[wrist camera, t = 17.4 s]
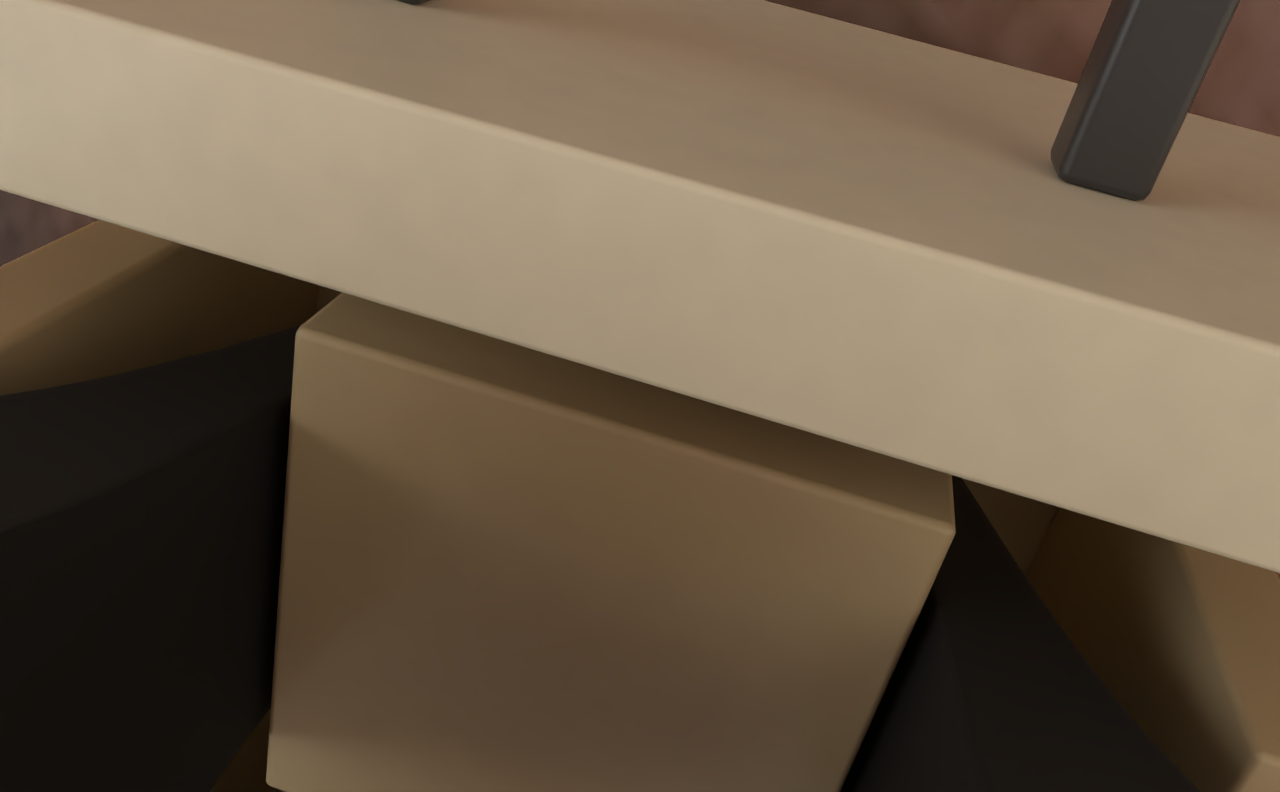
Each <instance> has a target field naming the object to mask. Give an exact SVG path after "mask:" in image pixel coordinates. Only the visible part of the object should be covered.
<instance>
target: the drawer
mask: <svg viewBox="0 0 1280 792" xmlns="http://www.w3.org/2000/svg"><path fill="white" fill-rule="evenodd" d="M1239 2H1240V0H1112V2H1111V5H1110V7H1109V10H1108V12H1107V14H1106V17H1105V19H1104V22H1103V24H1102V27H1101V29H1100V32H1099V34H1098V36H1097V39H1096V41H1095V44H1094V46H1093V49H1092V51H1091V53H1090V56H1089V58H1088V61H1087V63H1086V66H1085V68H1084V70H1083V73H1082V75H1081V78H1080V80H1079V83H1074V82H1070V81H1066V80H1063V79H1059V78H1055V77H1051V76H1048V75H1044V74H1040V73H1036V72H1032V71H1029V70H1025V69H1021V68H1017V67H1014V66H1010V65H1006V64H1002V63H999V62H995V61H991V60H987V59H983V58H980V57H976V56H972V55H968V54H965V53H961V52H957V51H953V50H949V49H946V48H942V47H938V46H934V45H931V44H927V43H923V42H919V41H916V40H912V39H908V38H904V37H900V36H897V35H893V34H889V33H885V32H882V31H878V30H874V29H870V28H866V27H863V26H859V25H855V24H851V23H848V22H844V21H840V20H836V19H833V18H829V17H825V16H821V15H817V14H814V13H810V12H806V11H802V10H799V9H795V8H791V7H787V6H783V5H780V4H776V3H772V2H768V1H765V0H0V190H2V191H6V192H9V193H12V194H16V195H19V196H22V197H26V198H29V199H32V200H36V201H39V202H42V203H46V204H49V205H52V206H56V207H59V208H62V209H66V210H69V211H72V212H76V213H79V214H82V215H86V216H89V217H92V218H96V219H99V220H97V221H95V222H93V223H91V224H89V225H87V226H85V227H82V228H80V229H78V230H76V231H74V232H72V233H70V234H68V235H66V236H63V237H61V238H59V239H57V240H55V241H53V242H51V243H49V244H47V245H44V246H42V247H40V248H38V249H36V250H34V251H32V252H30V253H28V254H25V255H23V256H21V257H19V258H17V259H15V260H13V261H11V262H9V263H6V264H4V265H2V266H0V396H2V395H8V394H15V393H21V392H27V391H33V390H39V389H46V388H52V387H57V386H62V385H67V384H73V383H78V382H83V381H88V380H93V379H98V378H102V377H107V376H112V375H116V374H120V373H124V372H128V371H132V370H136V369H140V368H144V367H148V366H152V365H156V364H160V363H164V362H168V361H172V360H176V359H180V358H184V357H188V356H192V355H196V354H200V353H204V352H208V351H212V350H216V349H219V348H223V347H226V346H230V345H233V344H236V343H240V342H243V341H247V340H250V339H253V338H257V337H260V336H264V335H267V334H270V333H274V332H277V331H281V330H284V329H287V328H291V327H294V326H297V325H301V324H304V323H305V322H306V321H307V320H309V319H310V318H311V317H312V316H314V315H315V314H316V313H317V312H319V311H320V310H321V309H322V308H324V307H325V306H326V305H327V304H329V303H330V302H331V301H332V300H334V299H335V298H336V297H337V296H338V295H340V294H341V293H342V292H343V293H346V294H349V295H353V296H356V297H359V298H363V299H366V300H369V301H373V302H376V303H379V304H383V305H386V306H389V307H393V308H396V309H399V310H403V311H406V312H409V313H413V314H416V315H419V316H423V317H426V318H429V319H433V320H436V321H439V322H443V323H446V324H449V325H453V326H456V327H459V328H463V329H466V330H469V331H473V332H476V333H480V334H483V335H486V336H490V337H493V338H496V339H500V340H503V341H506V342H510V343H513V344H516V345H520V346H523V347H526V348H530V349H533V350H536V351H540V352H543V353H546V354H550V355H553V356H556V357H560V358H563V359H566V360H570V361H573V362H576V363H580V364H583V365H586V366H590V367H593V368H596V369H600V370H603V371H606V372H610V373H613V374H616V375H620V376H623V377H626V378H630V379H633V380H636V381H640V382H643V383H646V384H650V385H653V386H656V387H660V388H663V389H666V390H670V391H673V392H676V393H680V394H683V395H686V396H690V397H693V398H696V399H700V400H703V401H706V402H710V403H713V404H716V405H720V406H723V407H726V408H730V409H733V410H737V411H740V412H743V413H747V414H750V415H753V416H757V417H760V418H763V419H767V420H770V421H773V422H777V423H780V424H783V425H787V426H790V427H793V428H797V429H800V430H803V431H807V432H810V433H813V434H817V435H820V436H823V437H827V438H830V439H833V440H837V441H840V442H843V443H847V444H850V445H853V446H857V447H860V448H863V449H867V450H870V451H873V452H877V453H880V454H883V455H887V456H890V457H893V458H897V459H900V460H903V461H907V462H910V463H913V464H917V465H920V466H923V467H927V468H930V469H933V470H937V471H940V472H943V473H947V474H950V475H953V476H957V477H960V478H962V480H963V481H964V483H965V484H966V485H967V487H968V488H969V490H970V491H971V493H972V495H973V496H974V498H975V499H976V501H977V502H978V504H979V505H980V507H981V509H982V510H983V512H984V513H985V515H986V516H987V518H988V519H989V521H990V523H991V524H992V526H993V527H994V529H995V530H996V532H997V534H998V535H999V537H1000V538H1001V540H1002V541H1003V543H1004V544H1005V546H1006V548H1007V549H1008V551H1009V552H1010V554H1011V555H1012V557H1013V558H1014V560H1015V561H1016V563H1017V564H1018V566H1019V567H1020V569H1021V570H1022V572H1023V573H1024V575H1025V576H1026V578H1027V579H1028V581H1029V582H1030V584H1031V585H1032V587H1033V588H1034V590H1035V591H1036V593H1037V594H1038V596H1039V597H1040V598H1041V600H1042V601H1043V603H1044V604H1045V606H1046V607H1047V608H1048V610H1049V611H1050V613H1051V614H1052V615H1053V617H1054V618H1055V620H1056V621H1057V622H1058V624H1059V625H1060V626H1061V628H1062V629H1063V631H1064V632H1065V633H1066V635H1067V636H1068V637H1069V639H1070V640H1071V641H1072V643H1073V644H1074V646H1075V647H1076V648H1077V649H1078V651H1079V652H1080V653H1081V655H1082V656H1083V657H1084V658H1085V660H1086V661H1087V662H1088V663H1089V665H1090V666H1091V667H1092V669H1093V670H1094V671H1095V672H1096V674H1097V675H1098V676H1099V677H1100V679H1101V680H1102V681H1103V682H1104V684H1105V685H1106V686H1107V688H1108V689H1109V690H1110V691H1111V693H1112V694H1113V695H1114V696H1115V698H1116V699H1117V700H1118V701H1119V703H1120V704H1121V705H1122V706H1123V707H1124V709H1125V710H1126V711H1127V712H1128V713H1129V714H1130V716H1131V717H1132V718H1133V719H1134V720H1135V721H1136V723H1137V724H1138V725H1139V726H1140V727H1141V728H1142V730H1143V731H1144V732H1145V733H1146V734H1147V735H1148V736H1149V737H1150V738H1151V739H1152V741H1153V742H1154V743H1155V744H1156V745H1157V746H1158V747H1159V748H1160V749H1161V750H1162V751H1163V752H1164V754H1165V755H1166V756H1167V757H1168V758H1169V759H1170V760H1171V761H1172V762H1173V763H1174V764H1175V765H1176V766H1177V768H1178V769H1179V770H1180V771H1181V772H1182V773H1183V774H1184V775H1185V776H1186V777H1187V778H1188V779H1189V781H1190V782H1191V783H1192V784H1193V785H1194V786H1195V787H1196V788H1197V789H1198V790H1199V791H1200V792H1280V579H1279V577H1278V575H1277V573H1280V137H1278V136H1274V135H1270V134H1266V133H1263V132H1259V131H1255V130H1251V129H1247V128H1244V127H1240V126H1236V125H1232V124H1229V123H1225V122H1221V121H1217V120H1214V119H1210V118H1206V117H1202V116H1198V115H1195V114H1191V113H1188V111H1189V109H1190V107H1191V105H1192V103H1193V100H1194V98H1195V96H1196V94H1197V92H1198V90H1199V88H1200V85H1201V83H1202V81H1203V79H1204V77H1205V75H1206V73H1207V70H1208V68H1209V66H1210V64H1211V62H1212V60H1213V58H1214V55H1215V53H1216V51H1217V49H1218V47H1219V45H1220V43H1221V40H1222V38H1223V36H1224V34H1225V32H1226V30H1227V28H1228V25H1229V23H1230V21H1231V19H1232V17H1233V15H1234V12H1235V10H1236V8H1237V6H1238V4H1239ZM1276 572H1277V573H1276ZM270 713H271V708H270V710H269V711H268V712H267V713H266V715H265V716H264V717H263V719H262V720H261V721H260V722H259V724H258V725H257V726H256V728H255V729H254V730H253V731H252V733H251V734H250V735H249V737H248V738H247V739H246V741H245V742H244V743H243V745H242V746H241V748H240V749H239V750H238V752H237V753H236V755H235V756H234V758H233V759H232V760H231V762H230V763H229V765H228V766H227V767H226V769H225V770H224V772H223V773H222V774H221V776H220V777H219V779H218V780H217V782H216V783H215V785H214V787H213V788H212V790H211V791H210V792H285V791H282V790H279V789H276V788H273V787H271V786H269V785H268V784H267V782H266V773H267V758H268V743H269V728H270Z"/></svg>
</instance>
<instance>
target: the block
mask: <svg viewBox="0 0 1280 792" xmlns="http://www.w3.org/2000/svg"><path fill="white" fill-rule="evenodd" d="M955 534H956V530H955V515H954V500H953V485H952V475H950V474H947V473H943V472H940V471H937V470H933V469H930V468H927V467H923V466H920V465H917V464H913V463H910V462H907V461H903V460H900V459H897V458H893V457H890V456H887V455H883V454H880V453H877V452H873V451H870V450H867V449H863V448H860V447H857V446H853V445H850V444H847V443H843V442H840V441H837V440H833V439H830V438H827V437H823V436H820V435H817V434H813V433H810V432H807V431H803V430H800V429H797V428H793V427H790V426H787V425H783V424H780V423H777V422H773V421H770V420H767V419H763V418H760V417H757V416H753V415H750V414H747V413H743V412H740V411H737V410H733V409H730V408H726V407H723V406H720V405H716V404H713V403H710V402H706V401H703V400H700V399H696V398H693V397H690V396H686V395H683V394H680V393H676V392H673V391H670V390H666V389H663V388H660V387H656V386H653V385H650V384H646V383H643V382H640V381H636V380H633V379H630V378H626V377H623V376H620V375H616V374H613V373H610V372H606V371H603V370H600V369H596V368H593V367H590V366H586V365H583V364H580V363H576V362H573V361H570V360H566V359H563V358H560V357H556V356H553V355H550V354H546V353H543V352H540V351H536V350H533V349H530V348H526V347H523V346H520V345H516V344H513V343H510V342H506V341H503V340H500V339H496V338H493V337H490V336H486V335H483V334H480V333H476V332H473V331H469V330H466V329H463V328H459V327H456V326H453V325H449V324H446V323H443V322H439V321H436V320H433V319H429V318H426V317H423V316H419V315H416V314H413V313H409V312H406V311H403V310H399V309H396V308H393V307H389V306H386V305H383V304H379V303H376V302H373V301H369V300H366V299H363V298H359V297H356V296H353V295H349V294H346V293H343V292H342V293H341V294H340V295H338V296H337V297H336V298H335V299H334V300H332V301H331V302H330V303H329V304H327V305H326V306H325V307H324V308H322V309H321V310H320V311H319V312H317V313H316V314H315V315H314V316H312V317H311V318H310V319H309V320H307V321H306V322H305V323H304V324H302V325H301V326H300V327H299V329H298V330H297V332H296V336H295V351H294V367H293V382H292V397H291V412H290V427H289V442H288V457H287V472H286V487H285V502H284V517H283V532H282V547H281V562H280V577H279V593H278V608H277V623H276V638H275V653H274V668H273V683H272V698H271V713H270V728H269V743H268V758H267V773H266V782H267V784H268V785H269V786H271V787H273V788H276V789H279V790H282V791H285V792H841V790H842V787H843V785H844V783H845V781H846V778H847V776H848V774H849V772H850V769H851V767H852V765H853V763H854V760H855V758H856V756H857V754H858V751H859V749H860V747H861V745H862V742H863V740H864V738H865V736H866V733H867V731H868V729H869V727H870V725H871V722H872V720H873V718H874V716H875V713H876V711H877V709H878V707H879V704H880V702H881V700H882V698H883V695H884V693H885V691H886V689H887V686H888V684H889V682H890V680H891V677H892V675H893V673H894V671H895V668H896V666H897V664H898V662H899V659H900V657H901V655H902V653H903V650H904V648H905V646H906V644H907V641H908V639H909V637H910V635H911V633H912V630H913V628H914V626H915V624H916V621H917V619H918V617H919V615H920V612H921V610H922V608H923V606H924V603H925V601H926V599H927V597H928V594H929V592H930V590H931V588H932V585H933V583H934V581H935V579H936V576H937V574H938V572H939V570H940V567H941V565H942V563H943V561H944V558H945V556H946V554H947V552H948V549H949V547H950V545H951V543H952V541H953V538H954V536H955Z"/></svg>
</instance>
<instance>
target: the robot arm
mask: <svg viewBox="0 0 1280 792" xmlns="http://www.w3.org/2000/svg"><path fill="white" fill-rule="evenodd" d="M301 325H302V324H301ZM301 325H297V326H294V327H291V328H287V329H284V330H281V331H277V332H274V333H270V334H267V335H264V336H260V337H257V338H253V339H250V340H247V341H243V342H240V343H236V344H233V345H230V346H226V347H223V348H219V349H216V350H212V351H208V352H204V353H200V354H196V355H192V356H188V357H184V358H180V359H176V360H172V361H168V362H164V363H160V364H156V365H152V366H148V367H144V368H140V369H136V370H132V371H128V372H124V373H120V374H116V375H112V376H107V377H102V378H98V379H93V380H88V381H83V382H78V383H73V384H67V385H62V386H57V387H52V388H46V389H39V390H33V391H27V392H21V393H15V394H8V395H2V396H0V792H210V791H211V790H212V788H213V787H214V785H215V783H216V782H217V780H218V779H219V777H220V776H221V774H222V773H223V772H224V770H225V769H226V767H227V766H228V765H229V763H230V762H231V760H232V759H233V758H234V756H235V755H236V753H237V752H238V750H239V749H240V748H241V746H242V745H243V743H244V742H245V741H246V739H247V738H248V737H249V735H250V734H251V733H252V731H253V730H254V729H255V728H256V726H257V725H258V724H259V722H260V721H261V720H262V719H263V717H264V716H265V715H266V713H267V712H268V711H269V710H270V708H271V698H272V683H273V668H274V653H275V638H276V623H277V608H278V593H279V577H280V562H281V547H282V532H283V517H284V502H285V487H286V472H287V457H288V442H289V427H290V412H291V397H292V382H293V367H294V351H295V336H296V332H297V330H298V329H299V327H300V326H301ZM952 485H953V500H954V515H955V530H956V534H955V536H954V538H953V541H952V543H951V545H950V547H949V549H948V552H947V554H946V556H945V558H944V561H943V563H942V565H941V567H940V570H939V572H938V574H937V576H936V579H935V581H934V583H933V585H932V588H931V590H930V592H929V594H928V597H927V599H926V601H925V603H924V606H923V608H922V610H921V612H920V615H919V617H918V619H917V621H916V624H915V626H914V628H913V630H912V633H911V635H910V637H909V639H908V641H907V644H906V646H905V648H904V650H903V653H902V655H901V657H900V659H899V662H898V664H897V666H896V668H895V671H894V673H893V675H892V677H891V680H890V682H889V684H888V686H887V689H886V691H885V693H884V695H883V698H882V700H881V702H880V704H879V707H878V709H877V711H876V713H875V716H874V718H873V720H872V722H871V725H870V727H869V729H868V731H867V733H866V736H865V738H864V740H863V742H862V745H861V747H860V749H859V751H858V754H857V756H856V758H855V760H854V763H853V765H852V767H851V769H850V772H849V774H848V776H847V778H846V781H845V783H844V785H843V787H842V790H841V792H1200V791H1199V790H1198V789H1197V788H1196V787H1195V786H1194V785H1193V784H1192V783H1191V782H1190V781H1189V779H1188V778H1187V777H1186V776H1185V775H1184V774H1183V773H1182V772H1181V771H1180V770H1179V769H1178V768H1177V766H1176V765H1175V764H1174V763H1173V762H1172V761H1171V760H1170V759H1169V758H1168V757H1167V756H1166V755H1165V754H1164V752H1163V751H1162V750H1161V749H1160V748H1159V747H1158V746H1157V745H1156V744H1155V743H1154V742H1153V741H1152V739H1151V738H1150V737H1149V736H1148V735H1147V734H1146V733H1145V732H1144V731H1143V730H1142V728H1141V727H1140V726H1139V725H1138V724H1137V723H1136V721H1135V720H1134V719H1133V718H1132V717H1131V716H1130V714H1129V713H1128V712H1127V711H1126V710H1125V709H1124V707H1123V706H1122V705H1121V704H1120V703H1119V701H1118V700H1117V699H1116V698H1115V696H1114V695H1113V694H1112V693H1111V691H1110V690H1109V689H1108V688H1107V686H1106V685H1105V684H1104V682H1103V681H1102V680H1101V679H1100V677H1099V676H1098V675H1097V674H1096V672H1095V671H1094V670H1093V669H1092V667H1091V666H1090V665H1089V663H1088V662H1087V661H1086V660H1085V658H1084V657H1083V656H1082V655H1081V653H1080V652H1079V651H1078V649H1077V648H1076V647H1075V646H1074V644H1073V643H1072V641H1071V640H1070V639H1069V637H1068V636H1067V635H1066V633H1065V632H1064V631H1063V629H1062V628H1061V626H1060V625H1059V624H1058V622H1057V621H1056V620H1055V618H1054V617H1053V615H1052V614H1051V613H1050V611H1049V610H1048V608H1047V607H1046V606H1045V604H1044V603H1043V601H1042V600H1041V598H1040V597H1039V596H1038V594H1037V593H1036V591H1035V590H1034V588H1033V587H1032V585H1031V584H1030V582H1029V581H1028V579H1027V578H1026V576H1025V575H1024V573H1023V572H1022V570H1021V569H1020V567H1019V566H1018V564H1017V563H1016V561H1015V560H1014V558H1013V557H1012V555H1011V554H1010V552H1009V551H1008V549H1007V548H1006V546H1005V544H1004V543H1003V541H1002V540H1001V538H1000V537H999V535H998V534H997V532H996V530H995V529H994V527H993V526H992V524H991V523H990V521H989V519H988V518H987V516H986V515H985V513H984V512H983V510H982V509H981V507H980V505H979V504H978V502H977V501H976V499H975V498H974V496H973V495H972V493H971V491H970V490H969V488H968V487H967V485H966V484H965V483H964V481H963V480H962V478H960V477H957V476H953V475H952Z"/></svg>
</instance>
